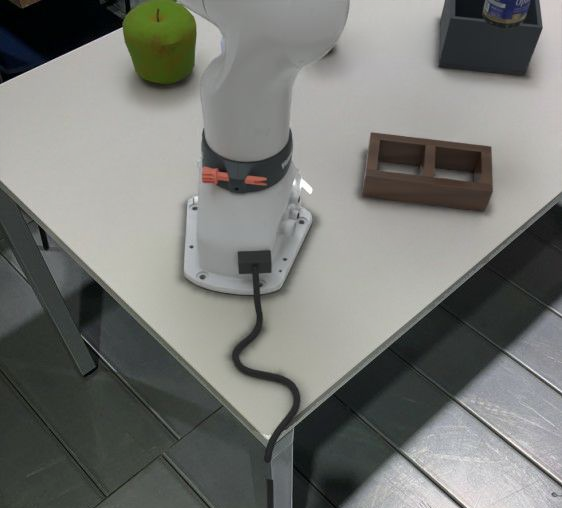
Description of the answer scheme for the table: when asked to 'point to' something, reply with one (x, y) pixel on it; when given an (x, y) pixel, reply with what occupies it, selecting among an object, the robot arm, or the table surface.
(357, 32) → the table surface
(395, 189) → the brown wooden caddy
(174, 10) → the apple
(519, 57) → the open square box
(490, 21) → the pill bottle
